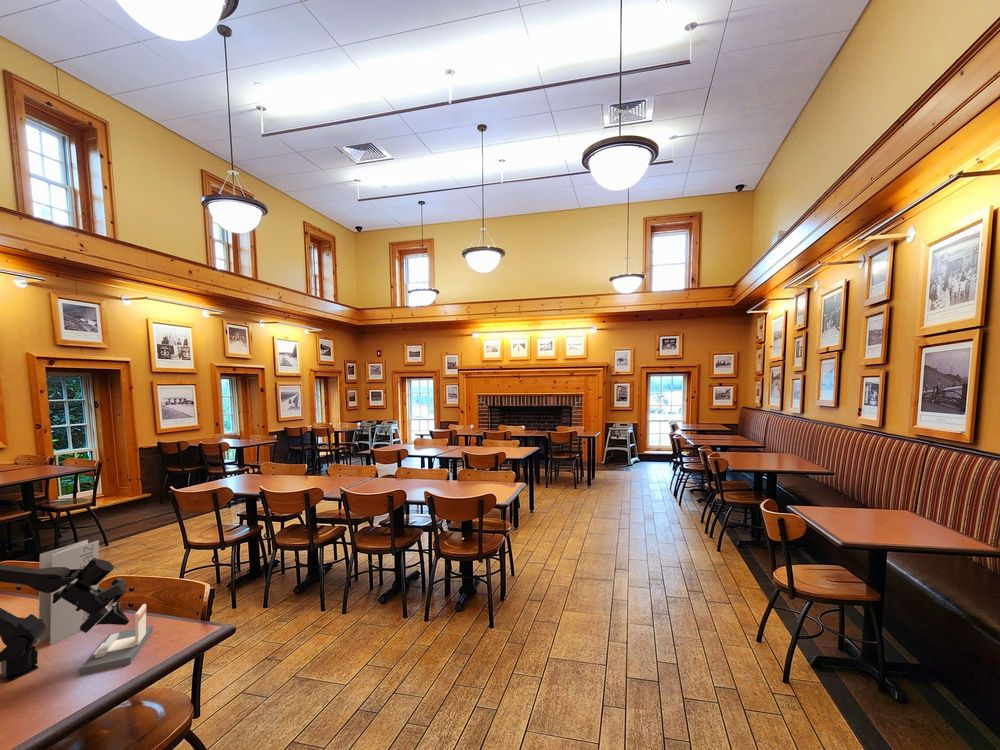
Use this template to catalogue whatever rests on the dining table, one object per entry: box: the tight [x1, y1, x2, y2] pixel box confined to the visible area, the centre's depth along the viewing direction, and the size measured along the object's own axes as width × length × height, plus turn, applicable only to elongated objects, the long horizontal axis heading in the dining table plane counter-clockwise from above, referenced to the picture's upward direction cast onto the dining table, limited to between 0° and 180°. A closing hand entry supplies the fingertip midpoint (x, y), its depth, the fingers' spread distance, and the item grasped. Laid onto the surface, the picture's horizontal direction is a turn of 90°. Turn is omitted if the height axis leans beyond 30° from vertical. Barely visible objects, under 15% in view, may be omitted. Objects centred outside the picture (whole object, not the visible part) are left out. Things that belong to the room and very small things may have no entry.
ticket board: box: [79, 624, 154, 676], centre depth 138 cm, size 12×20×3 cm, turn 24°
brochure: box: [38, 539, 100, 645], centre depth 151 cm, size 14×6×30 cm, turn 168°
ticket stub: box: [134, 603, 147, 645], centre depth 141 cm, size 1×7×10 cm, turn 24°
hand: (127, 623), depth 140 cm, fingers closed
